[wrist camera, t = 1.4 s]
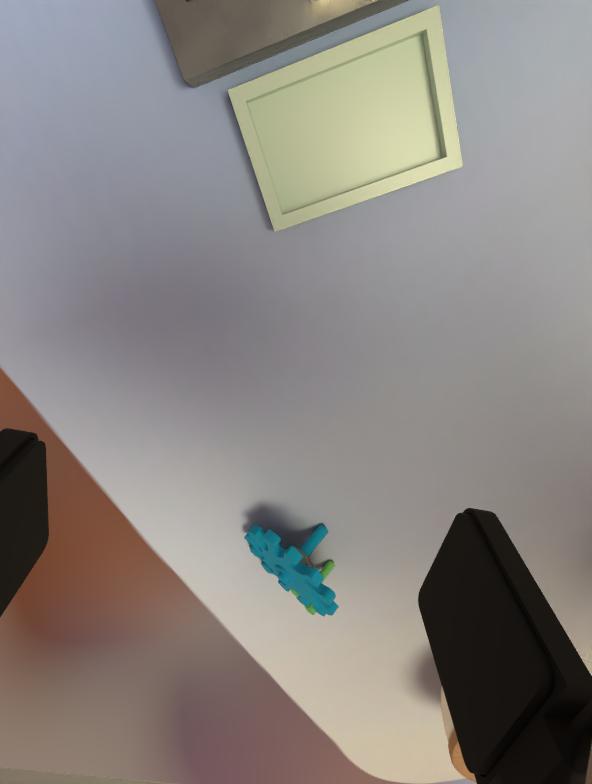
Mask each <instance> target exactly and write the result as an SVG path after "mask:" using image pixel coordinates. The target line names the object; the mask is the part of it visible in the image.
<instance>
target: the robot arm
mask: <svg viewBox="0 0 592 784" xmlns="http://www.w3.org/2000/svg"><path fill="white" fill-rule="evenodd" d="M46 469H47V468H46V447H45V443H44V442H43V441H38V436H37V434H35V433H32V432H26V431H20V430H14V429H8V428H7V429H3V430H2V431H1V432H0V617H1V615H2V614H3V612H4V611H5V609H6V608H7V606H8V604H9V603H10V602H11V600H12V598H13V597H14V595H15V594H16V592H17V590H18V589H19V588H20V586H21V585H22V583H23V582H24V580H25V579H26V577H27V576H28V574H29V572H30V571H31V569H32V568H33V566H34V565H35V563H36V562H37V560H38V559H39V557H40V556H41V554H42V553H43V551H44V549H45V547H46V544H47V541H48V536H49V530H48V529H49V527H48V498H47V470H46ZM418 603H419V608H420V612H421V615H422V619H423V622H424V626H425V629H426V633H427V636H428V639H429V643H430V646H431V650H432V653H433V657H434V660H435V663H436V667H437V670H438V674H439V677H440V681H441V684H442V688H443V691H444V694H445V698H446V701H447V705H448V708H449V712H450V715H451V718H452V722H453V725H454V729H455V732H456V736H457V739H458V743H459V746H460V749H461V753H462V756H463V760H464V763H465V765H466V767H467V769H468V771H469V772H470V773H473V774H474V775H475V779H476V782H477V784H592V676H591V674H590V673H589V671H588V669H587V668H586V666H585V664H584V663H583V661H582V659H581V658H580V656H579V654H578V652H577V651H576V649H575V647H574V646H573V644H572V642H571V641H570V639H569V637H568V636H567V634H566V632H565V630H564V629H563V627H562V625H561V624H560V622H559V620H558V619H557V617H556V615H555V614H554V612H553V610H552V609H551V607H550V605H549V603H548V602H547V600H546V598H545V597H544V595H543V593H542V592H541V590H540V588H539V587H538V585H537V583H536V582H535V580H534V578H533V576H532V575H531V573H530V571H529V570H528V568H527V566H526V565H525V563H524V561H523V560H522V558H521V556H520V555H519V553H518V551H517V549H516V548H515V546H514V544H513V543H512V541H511V539H510V538H509V536H508V534H507V533H506V531H505V529H504V528H503V526H502V524H501V522H500V521H499V519H498V517H497V516H496V515H495V514H494V513H493V512H490V511H484V510H478V509H472V508H467V509H466V510H465V511H464V512H463V513H459V514H457V515H456V517H455V519H454V521H453V523H452V525H451V527H450V529H449V531H448V533H447V535H446V537H445V539H444V541H443V543H442V546H441V548H440V550H439V552H438V554H437V556H436V558H435V560H434V562H433V564H432V566H431V568H430V570H429V572H428V574H427V576H426V578H425V581H424V583H423V585H422V587H421V589H420V591H419V596H418ZM0 784H174V783H163V782H153V781H143V780H132V779H122V778H110V777H100V776H89V775H78V774H67V773H57V772H47V771H36V770H25V769H14V768H3V767H0Z"/></svg>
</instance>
